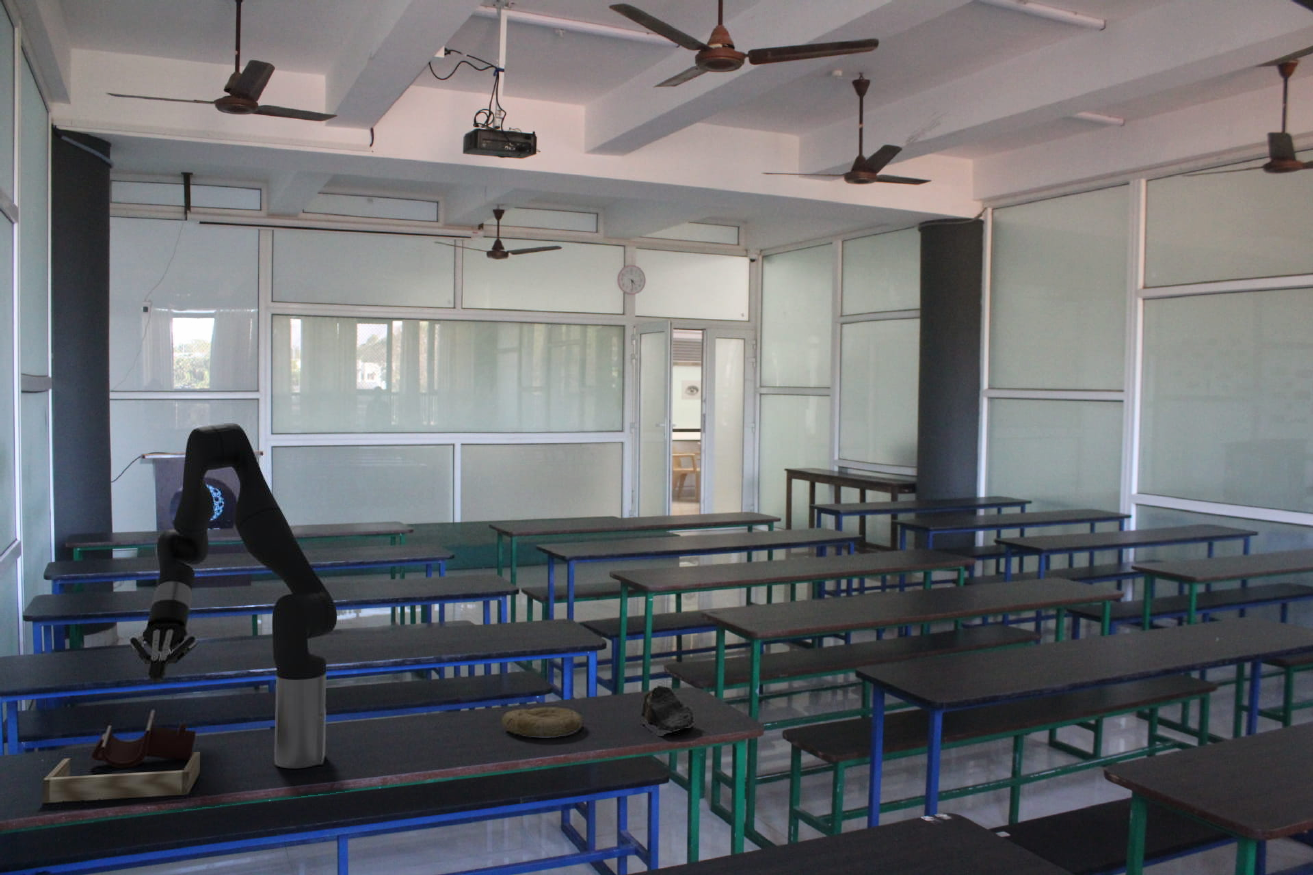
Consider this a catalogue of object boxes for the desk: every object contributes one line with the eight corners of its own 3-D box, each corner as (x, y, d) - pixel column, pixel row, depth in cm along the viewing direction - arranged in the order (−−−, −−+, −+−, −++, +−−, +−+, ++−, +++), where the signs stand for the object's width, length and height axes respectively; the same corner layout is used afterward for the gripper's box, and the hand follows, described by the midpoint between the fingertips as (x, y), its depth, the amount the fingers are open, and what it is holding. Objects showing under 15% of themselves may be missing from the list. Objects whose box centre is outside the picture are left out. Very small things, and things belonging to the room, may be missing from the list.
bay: (199, 772, 189) (200, 751, 189) (187, 794, 179) (188, 771, 179) (63, 780, 184) (63, 758, 184) (43, 802, 173) (43, 779, 173)
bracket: (94, 746, 194) (104, 704, 192) (189, 755, 201) (200, 714, 198) (87, 767, 189) (97, 724, 186) (185, 776, 196) (196, 735, 193)
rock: (635, 721, 231) (633, 681, 228) (678, 710, 235) (678, 671, 232) (659, 753, 218) (658, 712, 215) (705, 741, 222) (704, 701, 220)
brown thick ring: (546, 749, 210) (546, 727, 210) (495, 734, 219) (495, 713, 219) (597, 729, 224) (598, 709, 224) (547, 716, 233) (548, 696, 232)
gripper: (133, 598, 210) (116, 671, 199) (201, 597, 214) (188, 669, 202) (139, 618, 216) (123, 690, 204) (205, 617, 219) (193, 688, 207)
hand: (155, 679), depth 203 cm, fingers closed
